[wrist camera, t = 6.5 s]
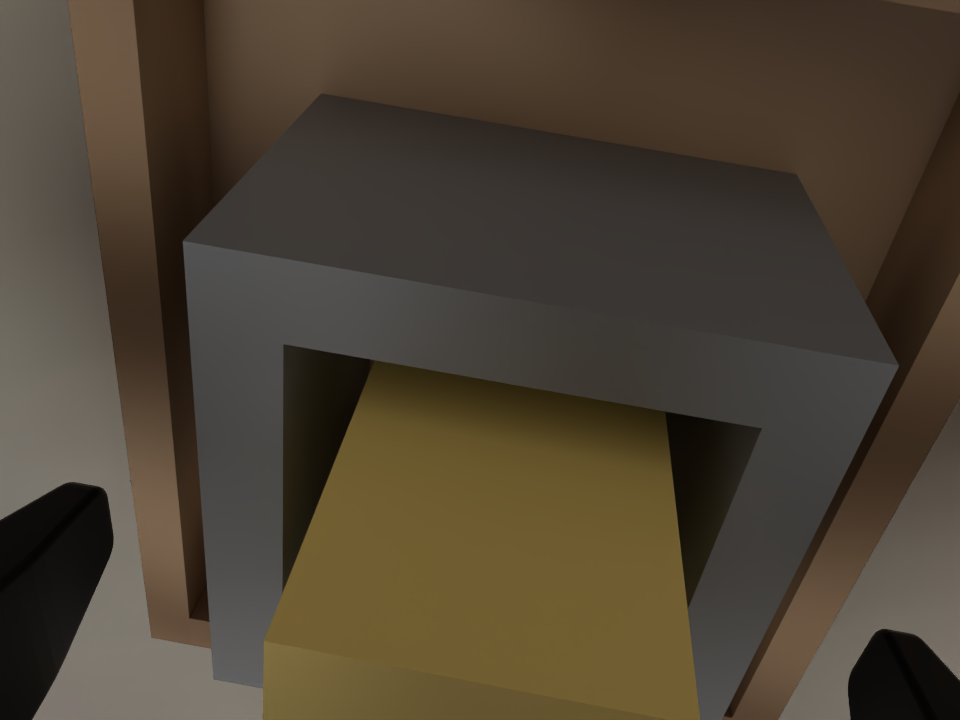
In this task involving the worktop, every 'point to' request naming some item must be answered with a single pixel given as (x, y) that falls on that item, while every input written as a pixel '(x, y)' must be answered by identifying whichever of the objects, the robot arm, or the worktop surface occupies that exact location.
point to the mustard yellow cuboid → (487, 563)
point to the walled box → (557, 109)
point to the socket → (525, 339)
